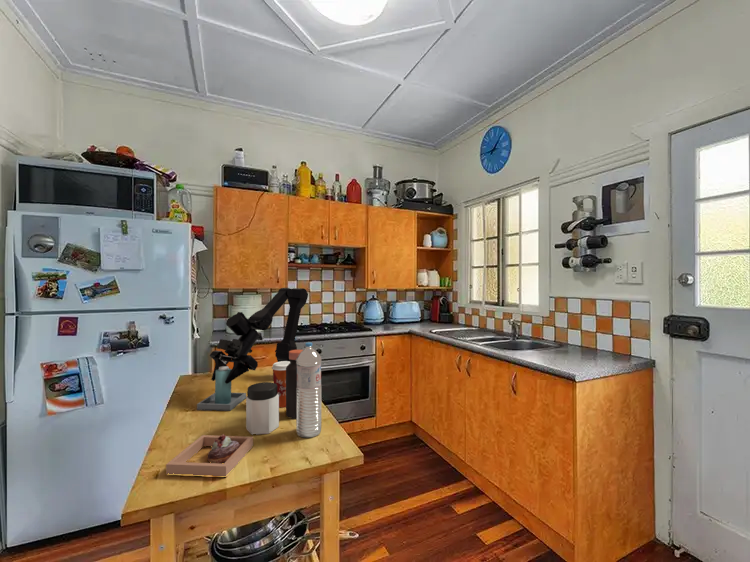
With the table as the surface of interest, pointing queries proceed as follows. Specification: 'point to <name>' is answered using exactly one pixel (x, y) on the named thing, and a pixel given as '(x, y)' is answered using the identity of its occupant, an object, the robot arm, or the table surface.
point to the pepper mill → (222, 386)
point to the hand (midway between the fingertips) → (219, 381)
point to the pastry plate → (215, 469)
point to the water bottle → (308, 392)
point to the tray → (210, 404)
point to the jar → (262, 408)
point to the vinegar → (291, 384)
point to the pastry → (222, 449)
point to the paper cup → (280, 380)
